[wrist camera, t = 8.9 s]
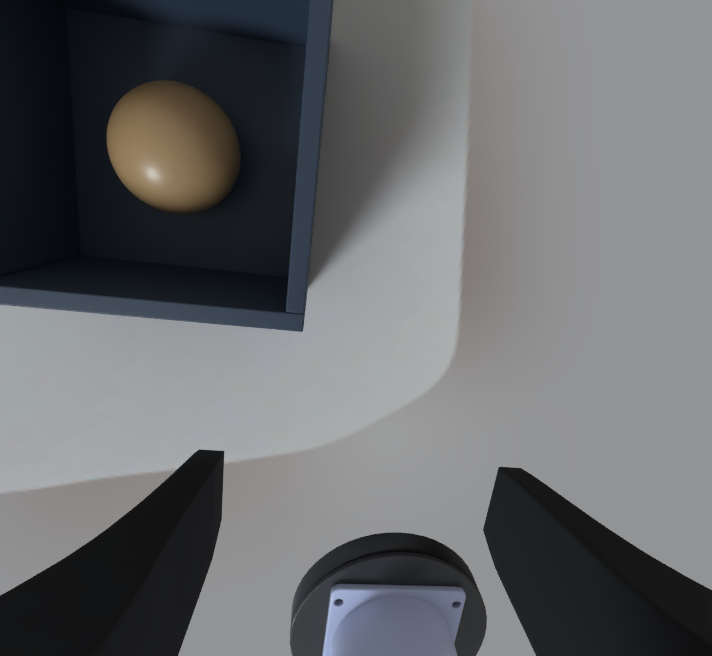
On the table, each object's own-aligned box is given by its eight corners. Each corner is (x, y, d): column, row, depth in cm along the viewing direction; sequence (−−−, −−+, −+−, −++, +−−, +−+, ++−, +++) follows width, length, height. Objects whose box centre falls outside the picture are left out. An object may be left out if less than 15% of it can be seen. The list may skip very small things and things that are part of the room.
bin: (307, 289, 20) (302, 332, 14) (72, 266, 19) (-44, 301, 13) (330, 37, 17) (336, -47, 11) (54, -9, 16) (-108, -132, 10)
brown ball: (245, 217, 19) (227, 224, 14) (136, 205, 18) (85, 208, 14) (250, 105, 17) (233, 76, 13) (133, 87, 17) (76, 52, 13)
